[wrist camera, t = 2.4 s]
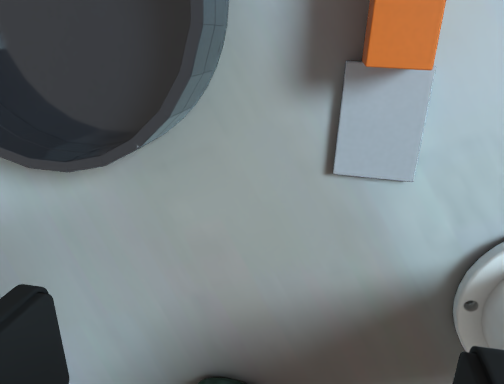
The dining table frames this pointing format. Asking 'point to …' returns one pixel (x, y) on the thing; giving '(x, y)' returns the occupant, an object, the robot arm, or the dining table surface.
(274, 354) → the dining table surface
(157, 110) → the bowl
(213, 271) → the dining table surface
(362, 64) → the putty knife
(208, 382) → the coffee jar
